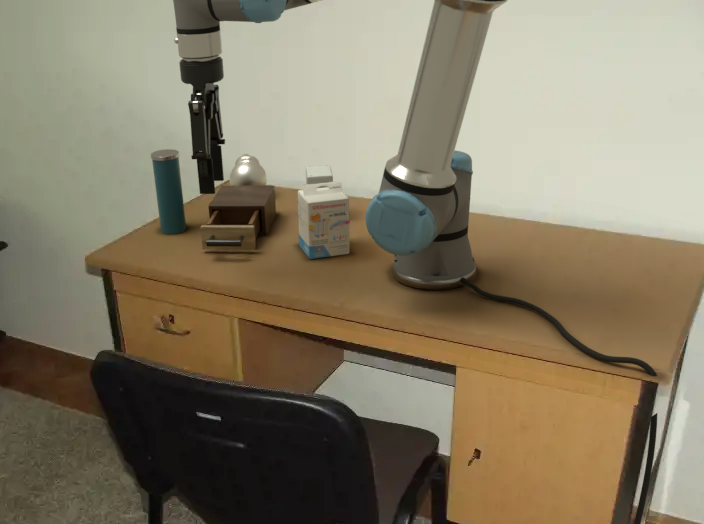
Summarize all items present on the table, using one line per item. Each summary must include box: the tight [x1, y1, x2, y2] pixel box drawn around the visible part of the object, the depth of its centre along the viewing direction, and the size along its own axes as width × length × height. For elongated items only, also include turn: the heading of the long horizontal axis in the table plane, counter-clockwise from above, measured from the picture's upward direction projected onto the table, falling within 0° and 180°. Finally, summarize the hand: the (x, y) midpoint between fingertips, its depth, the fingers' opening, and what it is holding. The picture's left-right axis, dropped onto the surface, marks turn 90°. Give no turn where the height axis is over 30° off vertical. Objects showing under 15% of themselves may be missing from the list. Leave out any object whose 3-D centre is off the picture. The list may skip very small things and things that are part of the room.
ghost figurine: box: [229, 153, 268, 186], centre depth 208 cm, size 9×10×10 cm
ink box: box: [297, 180, 350, 260], centre depth 175 cm, size 9×8×13 cm
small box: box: [305, 164, 334, 188], centre depth 192 cm, size 8×6×10 cm
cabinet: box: [207, 185, 277, 237], centre depth 192 cm, size 14×12×7 cm
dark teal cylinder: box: [150, 148, 187, 235], centre depth 190 cm, size 6×6×17 cm
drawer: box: [200, 209, 262, 251], centre depth 182 cm, size 17×11×5 cm, turn 170°
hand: (212, 186), depth 164 cm, fingers open, 7 cm apart
